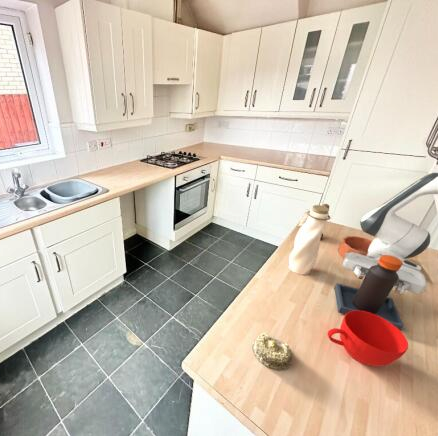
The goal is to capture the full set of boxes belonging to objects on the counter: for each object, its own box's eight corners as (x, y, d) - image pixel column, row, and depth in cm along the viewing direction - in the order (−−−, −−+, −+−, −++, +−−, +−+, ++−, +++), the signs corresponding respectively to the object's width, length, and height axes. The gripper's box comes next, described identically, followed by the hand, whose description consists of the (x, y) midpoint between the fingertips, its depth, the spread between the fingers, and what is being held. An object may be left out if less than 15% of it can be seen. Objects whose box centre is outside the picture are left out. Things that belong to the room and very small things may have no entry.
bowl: (374, 252, 109) (380, 241, 106) (381, 270, 98) (388, 258, 95) (336, 243, 115) (341, 233, 112) (340, 260, 104) (345, 248, 101)
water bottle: (279, 262, 103) (297, 203, 90) (294, 258, 106) (314, 199, 93) (300, 278, 95) (323, 215, 82) (316, 272, 98) (341, 211, 84)
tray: (388, 303, 83) (392, 298, 82) (400, 332, 74) (404, 326, 73) (334, 288, 90) (336, 282, 89) (338, 312, 81) (341, 307, 79)
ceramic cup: (309, 329, 75) (319, 307, 70) (368, 334, 73) (383, 311, 69) (332, 372, 64) (347, 349, 59) (403, 379, 62) (423, 356, 57)
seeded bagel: (289, 379, 63) (294, 368, 60) (248, 360, 68) (252, 349, 65) (292, 346, 70) (297, 335, 67) (255, 331, 75) (258, 320, 72)
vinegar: (378, 306, 82) (408, 259, 72) (375, 318, 78) (406, 270, 68) (354, 295, 86) (378, 250, 76) (349, 306, 82) (375, 259, 72)
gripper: (349, 244, 89) (342, 261, 81) (428, 268, 77) (430, 292, 68) (342, 257, 92) (335, 276, 84) (418, 283, 80) (419, 308, 71)
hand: (379, 284), depth 76 cm, fingers open, 8 cm apart
